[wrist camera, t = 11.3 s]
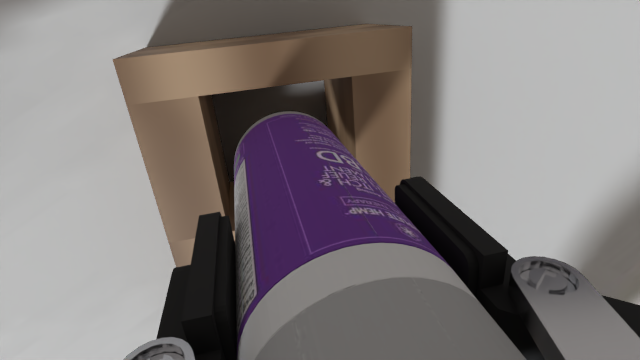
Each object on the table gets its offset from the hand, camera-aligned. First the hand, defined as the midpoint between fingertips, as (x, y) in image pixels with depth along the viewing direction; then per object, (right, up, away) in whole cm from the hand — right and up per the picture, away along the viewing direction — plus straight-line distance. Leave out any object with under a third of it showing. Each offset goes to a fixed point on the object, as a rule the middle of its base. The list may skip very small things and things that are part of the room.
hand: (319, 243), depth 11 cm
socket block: (-2, +2, +13) cm, 14 cm away
